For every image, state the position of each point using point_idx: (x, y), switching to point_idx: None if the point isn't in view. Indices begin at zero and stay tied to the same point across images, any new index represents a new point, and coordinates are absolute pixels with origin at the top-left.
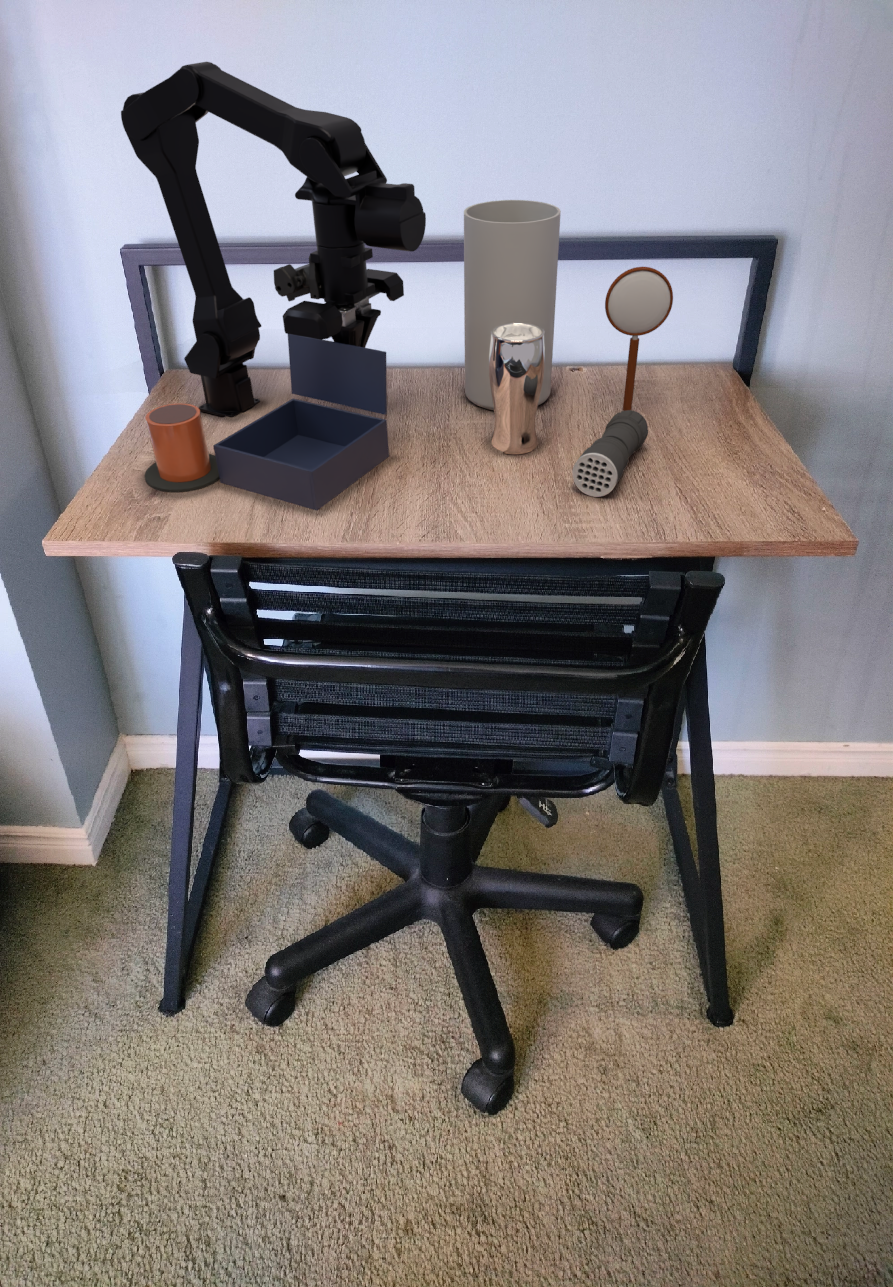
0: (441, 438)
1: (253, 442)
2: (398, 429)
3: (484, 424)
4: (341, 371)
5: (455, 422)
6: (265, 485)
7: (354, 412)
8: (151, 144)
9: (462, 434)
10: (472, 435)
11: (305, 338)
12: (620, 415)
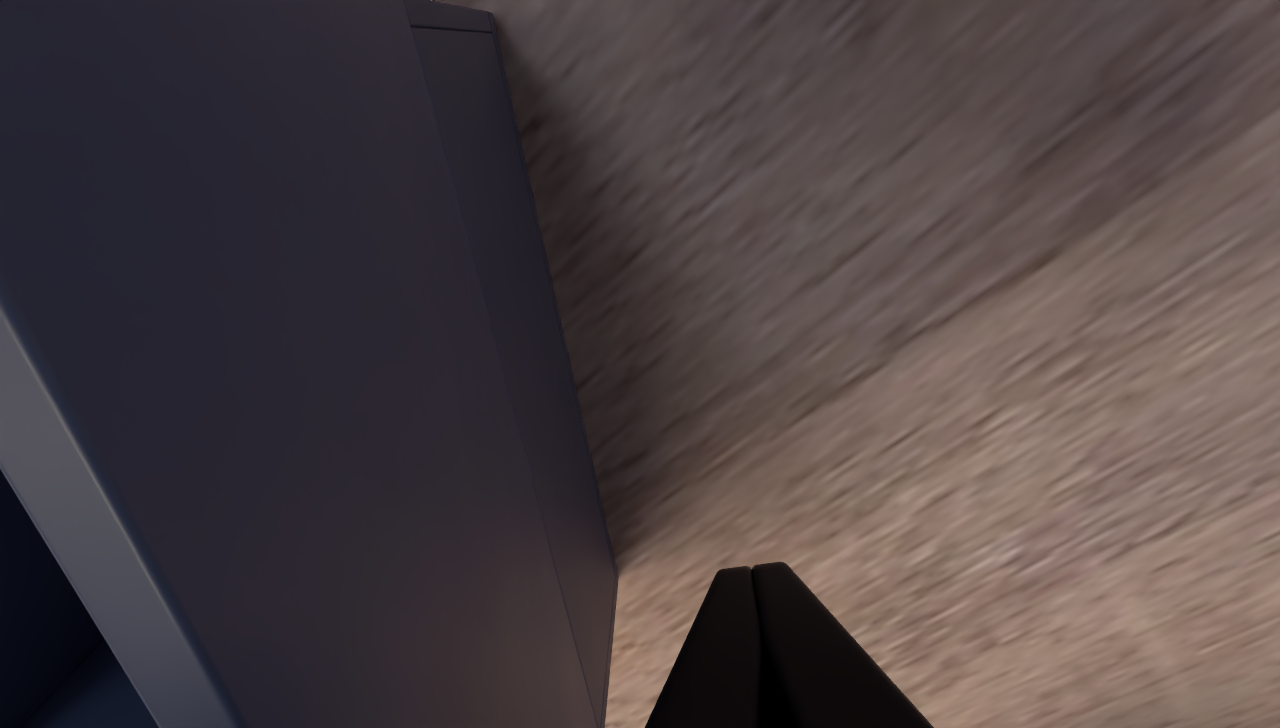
0: (918, 627)
1: None
2: (905, 431)
3: (1142, 684)
4: None
5: (1111, 587)
6: None
7: (555, 568)
8: None
9: (1000, 668)
10: (1010, 699)
11: (81, 560)
12: None
